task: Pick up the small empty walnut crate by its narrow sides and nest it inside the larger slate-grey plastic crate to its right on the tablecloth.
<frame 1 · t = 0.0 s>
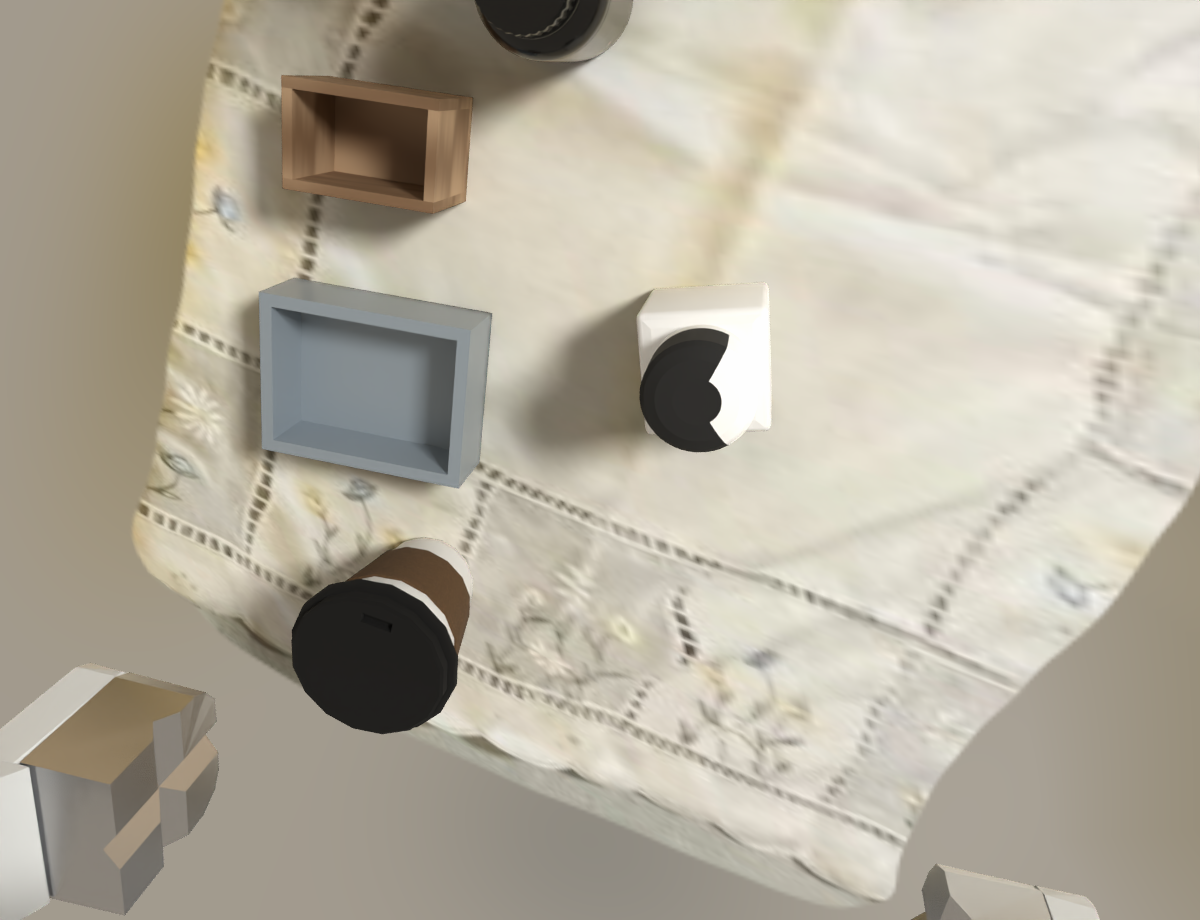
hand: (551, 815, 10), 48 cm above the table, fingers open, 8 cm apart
medicine bottle: (712, 340, 57), on the table
coffee cup: (433, 572, 67), on the table
walnut crate: (399, 139, 56), on the table
grey crate: (388, 372, 61), on the table
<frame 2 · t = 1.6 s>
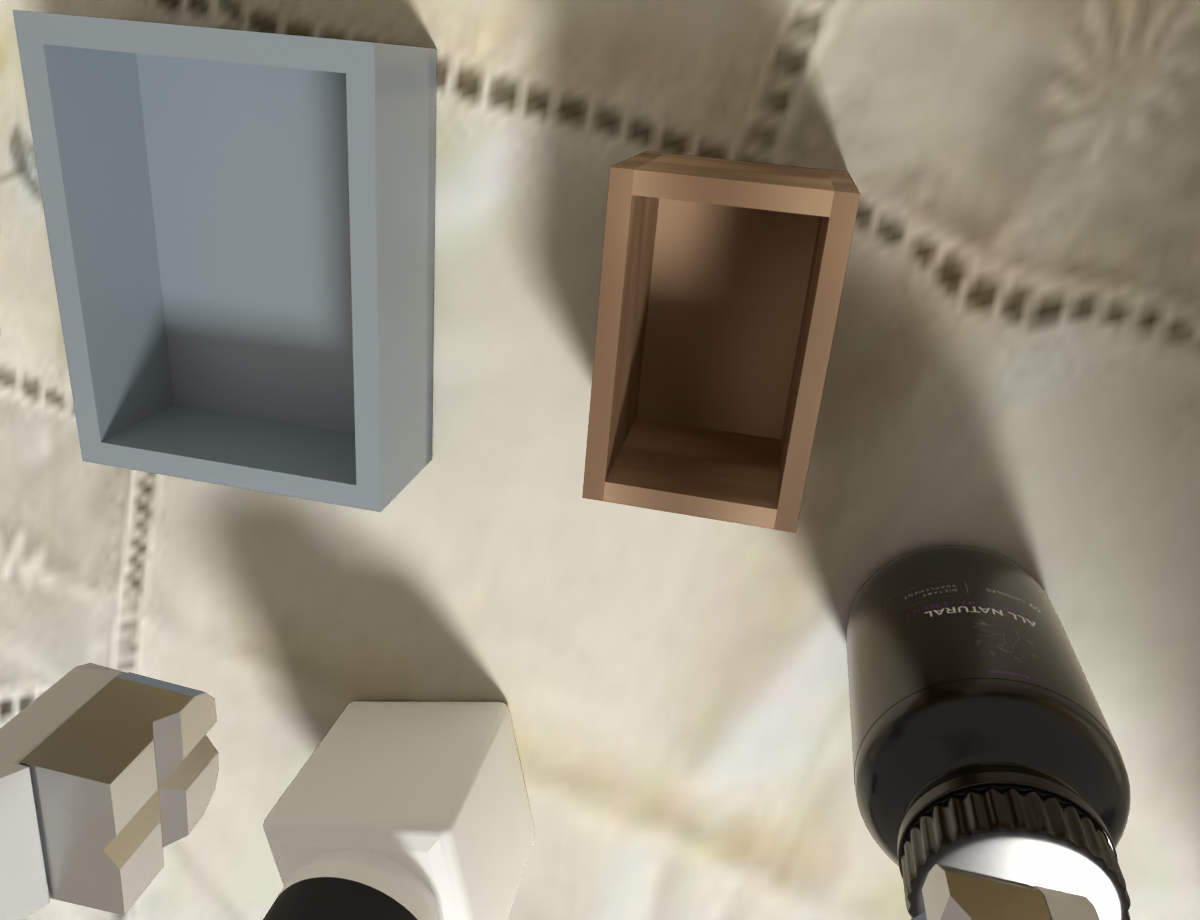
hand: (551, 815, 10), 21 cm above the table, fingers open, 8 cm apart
supplement bottle: (943, 623, 32), on the table
medicine bottle: (446, 764, 39), on the table
walnut crate: (725, 308, 29), on the table
grey crate: (286, 253, 31), on the table
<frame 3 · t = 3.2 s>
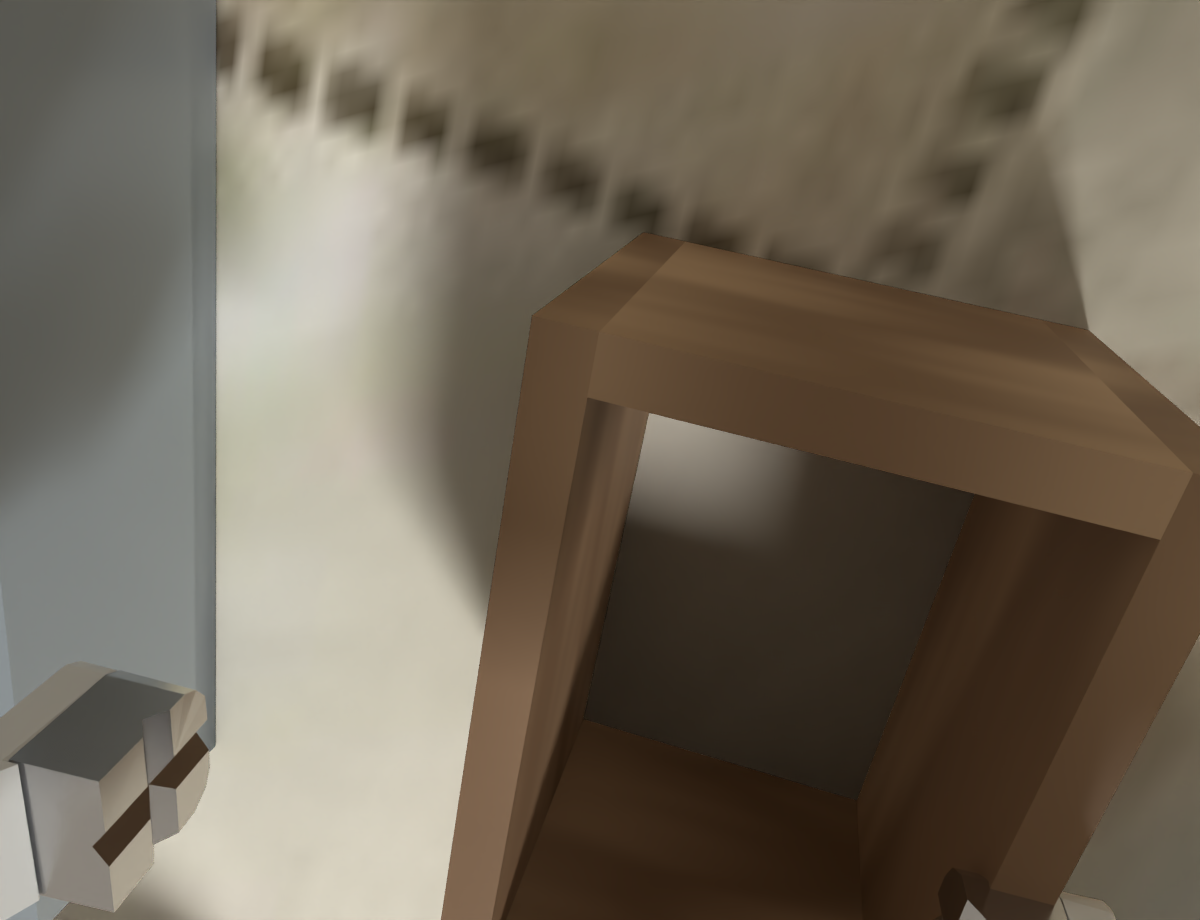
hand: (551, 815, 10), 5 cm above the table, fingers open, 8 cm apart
walnut crate: (776, 546, 15), on the table, touching gripper
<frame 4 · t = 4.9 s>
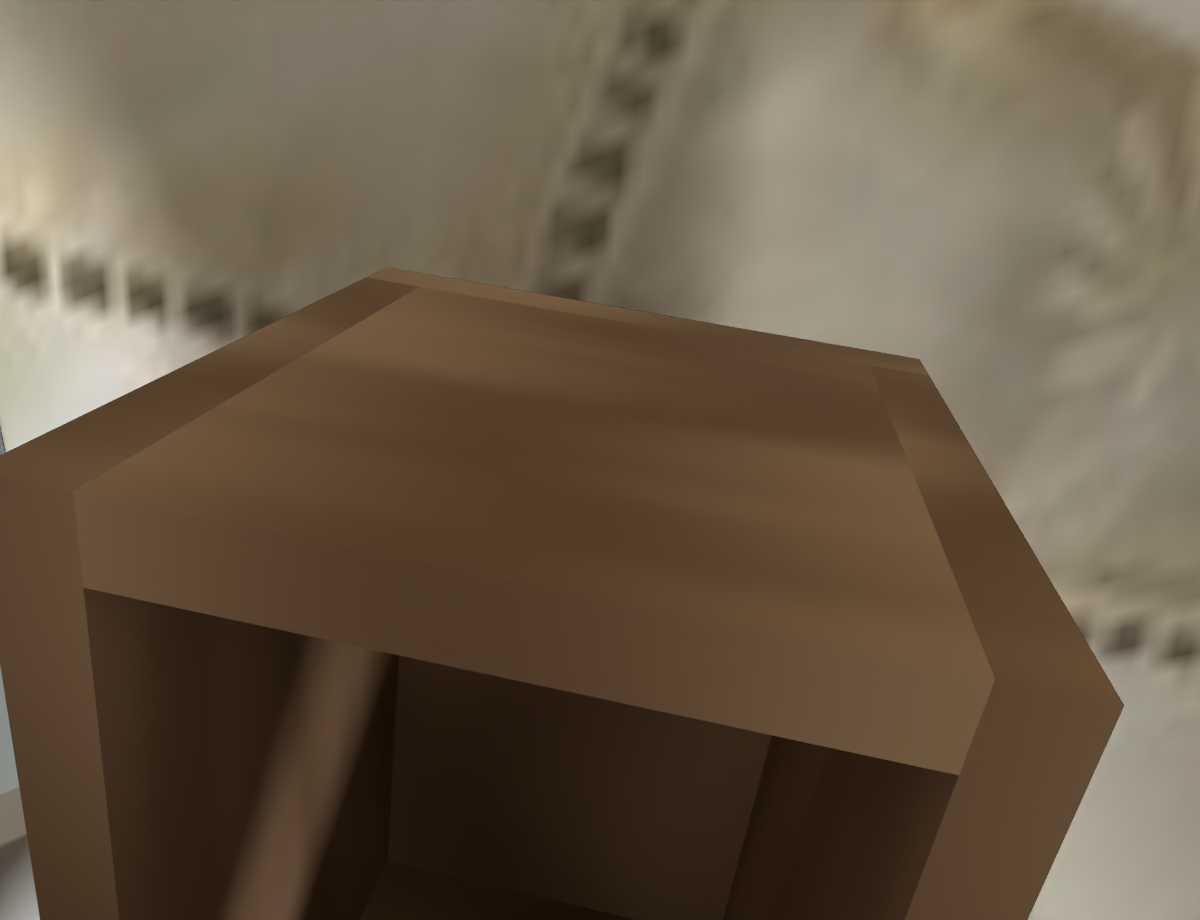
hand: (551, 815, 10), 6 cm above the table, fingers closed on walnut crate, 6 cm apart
walnut crate: (592, 647, 12), point 4 cm above the table, touching gripper
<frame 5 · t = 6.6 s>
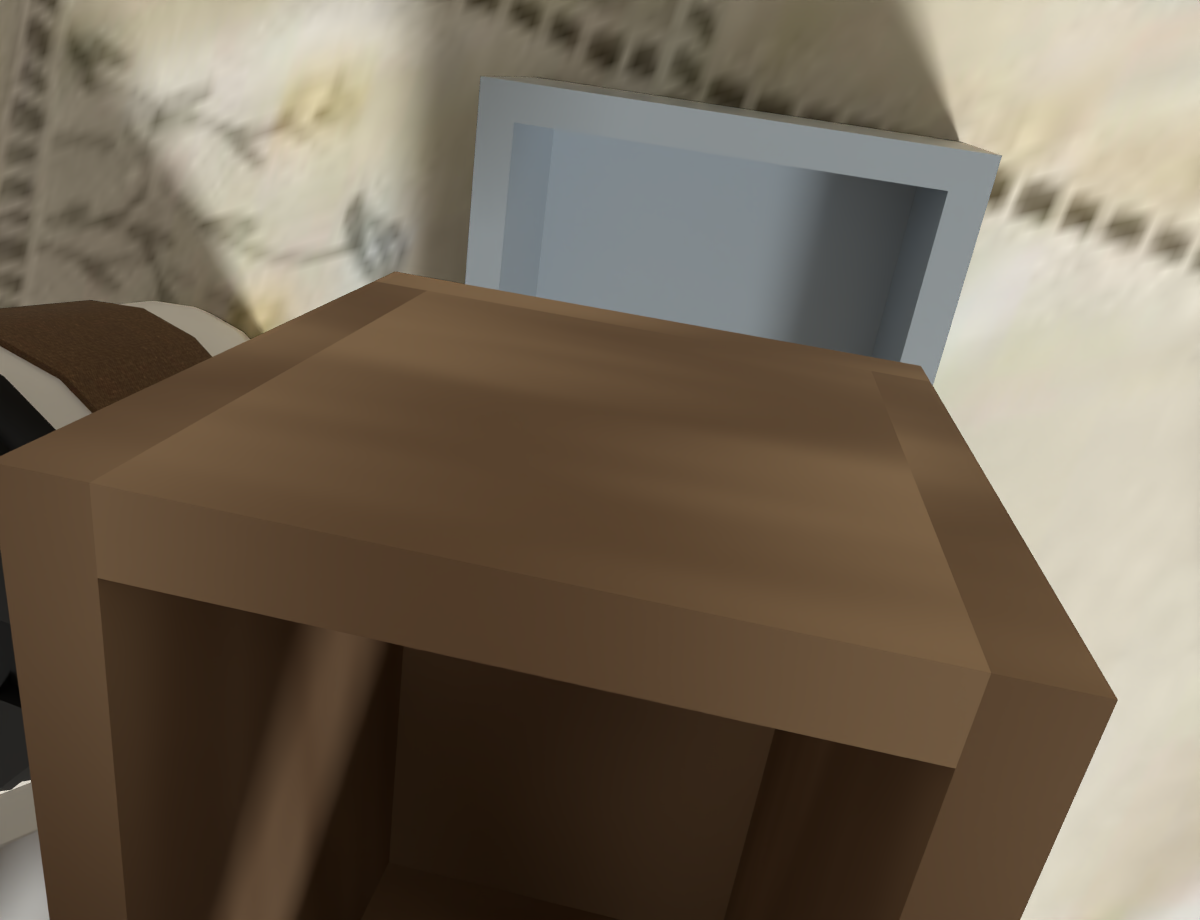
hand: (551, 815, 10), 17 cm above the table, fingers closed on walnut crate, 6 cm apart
coffee cup: (202, 399, 29), on the table
walnut crate: (595, 650, 12), point 14 cm above the table, touching gripper
grey crate: (693, 369, 25), on the table
when the fingers open (5 cm above the table, at t = 9.1 s): walnut crate drops 2 cm, resting on grey crate.
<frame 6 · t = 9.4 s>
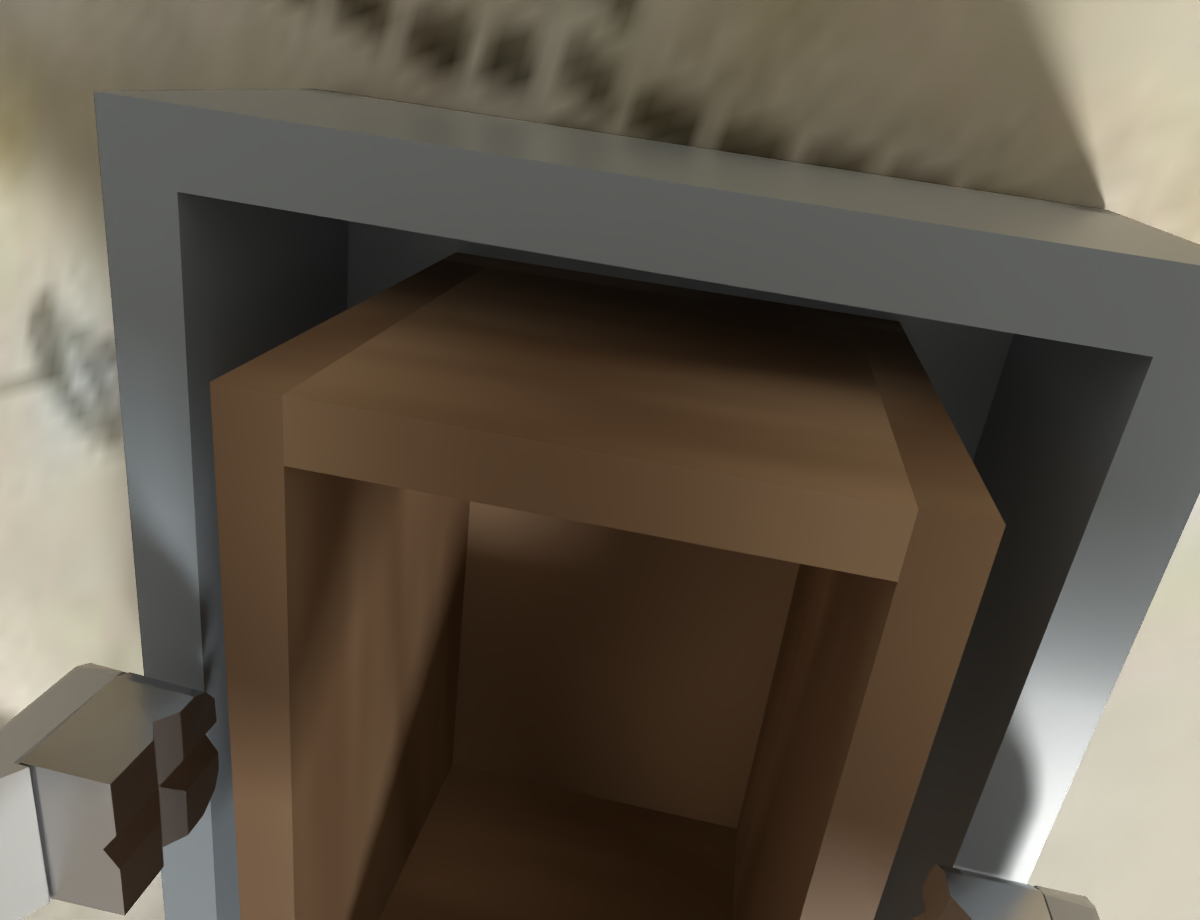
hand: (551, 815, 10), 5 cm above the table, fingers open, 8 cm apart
walnut crate: (628, 574, 14), point 1 cm above the table, touching grey crate
grey crate: (620, 584, 15), on the table
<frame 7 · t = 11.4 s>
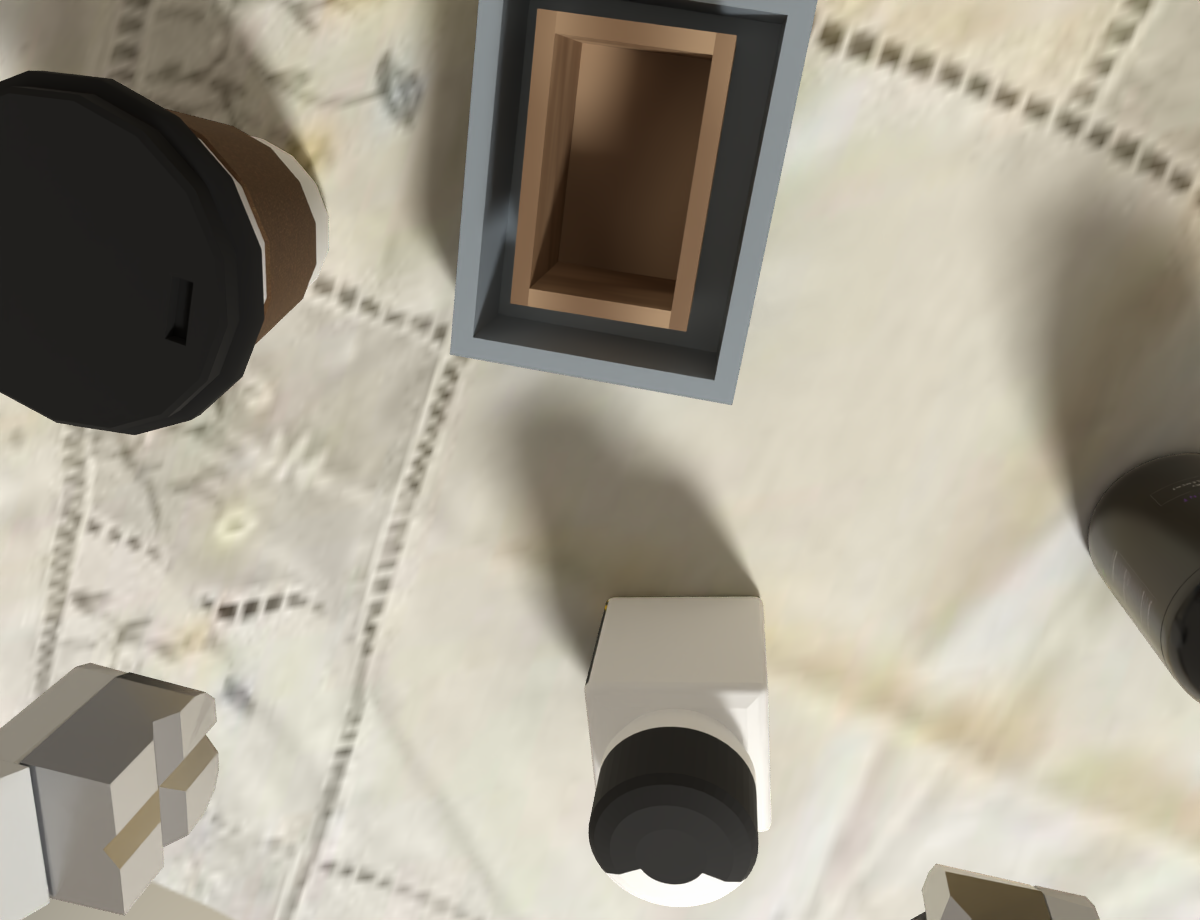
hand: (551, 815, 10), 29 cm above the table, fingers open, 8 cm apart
supplement bottle: (1168, 523, 37), on the table
medicine bottle: (687, 658, 43), on the table
coffee cup: (262, 219, 38), on the table
walnut crate: (634, 165, 34), point 1 cm above the table, touching grey crate
grey crate: (630, 178, 35), on the table
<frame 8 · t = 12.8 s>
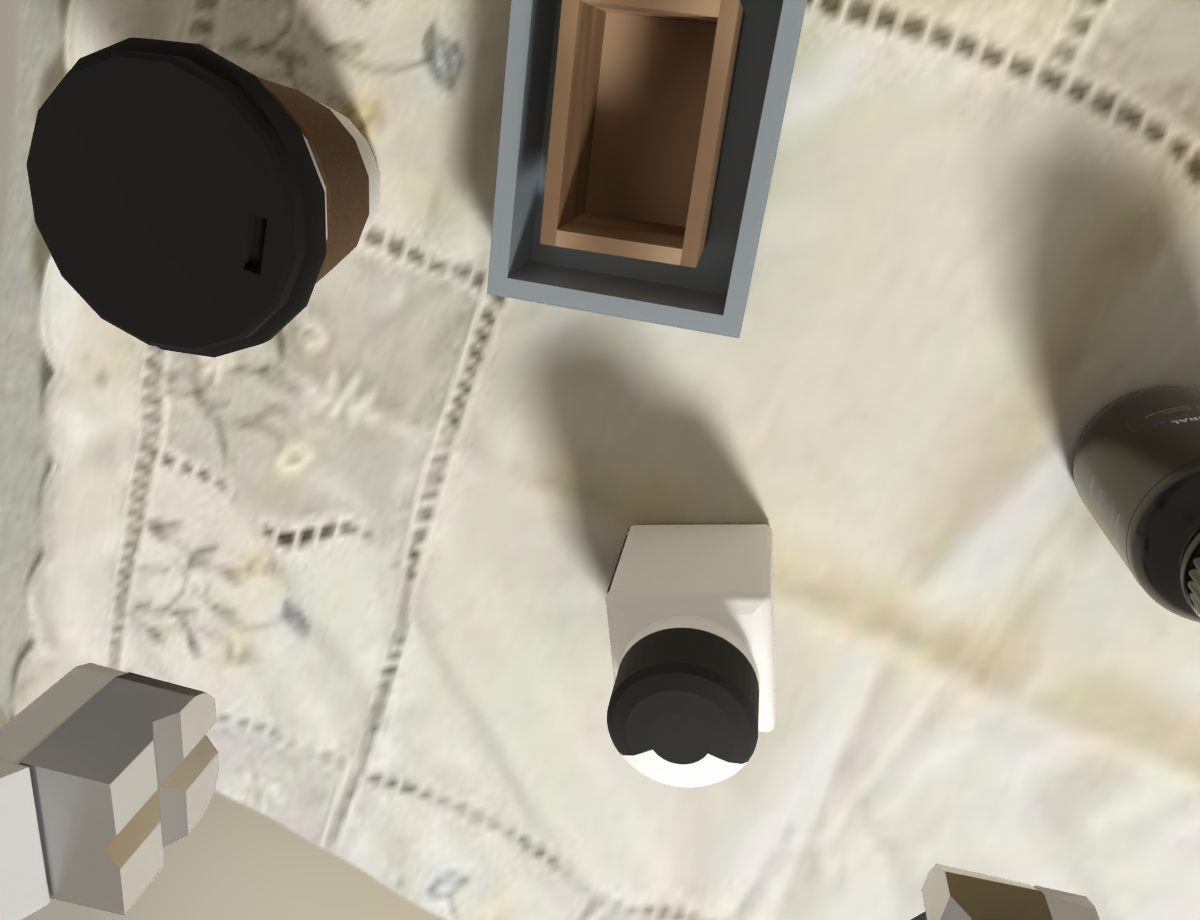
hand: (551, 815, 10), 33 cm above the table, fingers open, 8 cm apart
supplement bottle: (1148, 454, 40), on the table
medicine bottle: (703, 583, 47), on the table
coffee cup: (320, 177, 42), on the table
walnut crate: (653, 123, 38), point 1 cm above the table, touching grey crate
grey crate: (650, 136, 39), on the table
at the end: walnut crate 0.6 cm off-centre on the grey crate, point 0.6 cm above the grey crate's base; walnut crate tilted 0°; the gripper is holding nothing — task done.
